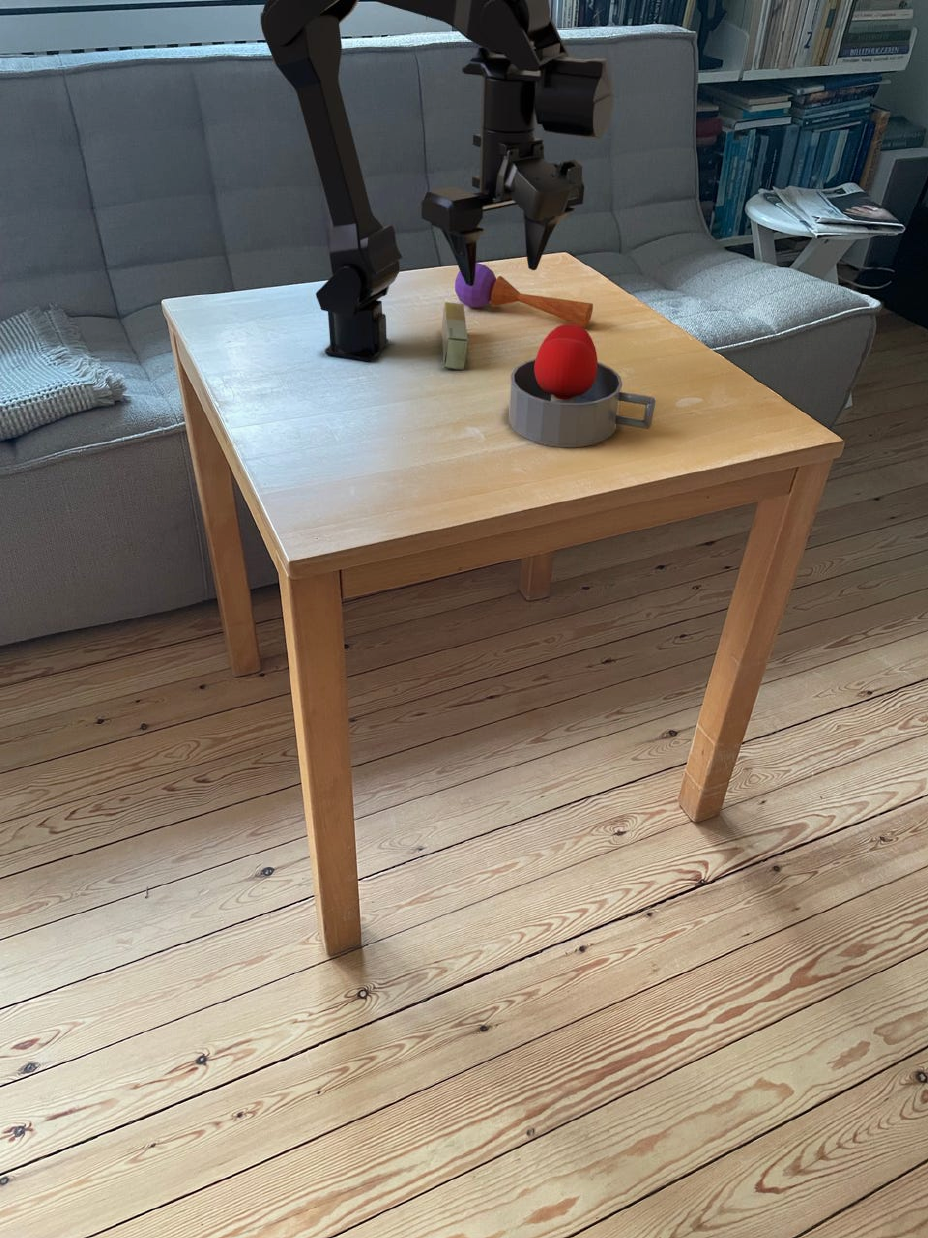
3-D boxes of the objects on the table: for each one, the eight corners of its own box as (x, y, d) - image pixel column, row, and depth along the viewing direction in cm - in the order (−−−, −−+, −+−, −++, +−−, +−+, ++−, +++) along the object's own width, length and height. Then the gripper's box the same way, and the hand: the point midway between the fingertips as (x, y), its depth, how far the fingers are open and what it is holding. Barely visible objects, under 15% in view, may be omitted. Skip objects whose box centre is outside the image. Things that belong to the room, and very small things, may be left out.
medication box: (464, 370, 117) (468, 340, 115) (443, 369, 117) (447, 338, 114) (460, 330, 126) (463, 301, 124) (440, 328, 126) (443, 299, 123)
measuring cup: (495, 436, 104) (497, 393, 101) (524, 389, 113) (527, 349, 110) (640, 461, 100) (647, 418, 97) (658, 411, 110) (665, 370, 106)
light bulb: (587, 438, 103) (597, 353, 97) (525, 431, 104) (531, 346, 98) (594, 401, 110) (604, 319, 104) (536, 395, 111) (542, 313, 105)
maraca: (583, 307, 123) (448, 271, 129) (578, 345, 128) (448, 309, 133) (598, 285, 127) (466, 250, 132) (593, 323, 132) (465, 288, 137)
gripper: (484, 155, 87) (480, 317, 97) (627, 130, 96) (609, 281, 106) (417, 131, 94) (419, 285, 104) (556, 110, 103) (545, 254, 113)
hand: (501, 276), depth 106 cm, fingers open, 9 cm apart
